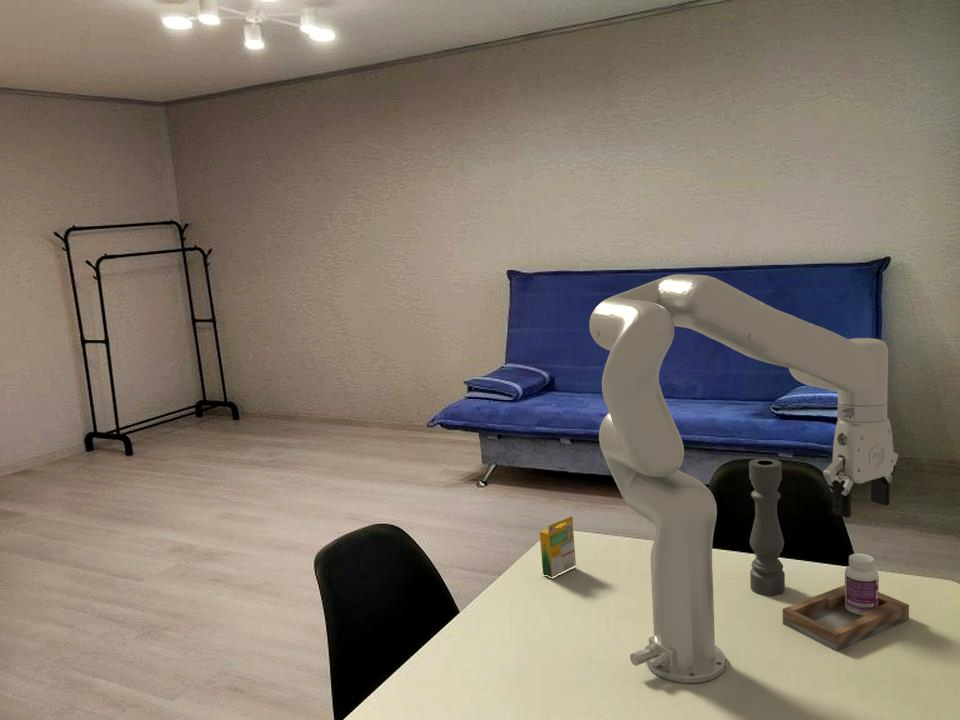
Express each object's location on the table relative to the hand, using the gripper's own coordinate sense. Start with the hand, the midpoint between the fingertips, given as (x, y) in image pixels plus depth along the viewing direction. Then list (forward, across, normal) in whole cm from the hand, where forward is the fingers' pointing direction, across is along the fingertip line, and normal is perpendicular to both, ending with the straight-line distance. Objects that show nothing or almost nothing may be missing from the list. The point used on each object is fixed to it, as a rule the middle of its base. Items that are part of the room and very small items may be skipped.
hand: (861, 509), depth 135 cm
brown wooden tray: (+20, -4, 0) cm, 20 cm away
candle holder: (+20, -5, +16) cm, 26 cm away
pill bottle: (+19, 0, 0) cm, 19 cm away
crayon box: (+20, -33, +46) cm, 60 cm away
